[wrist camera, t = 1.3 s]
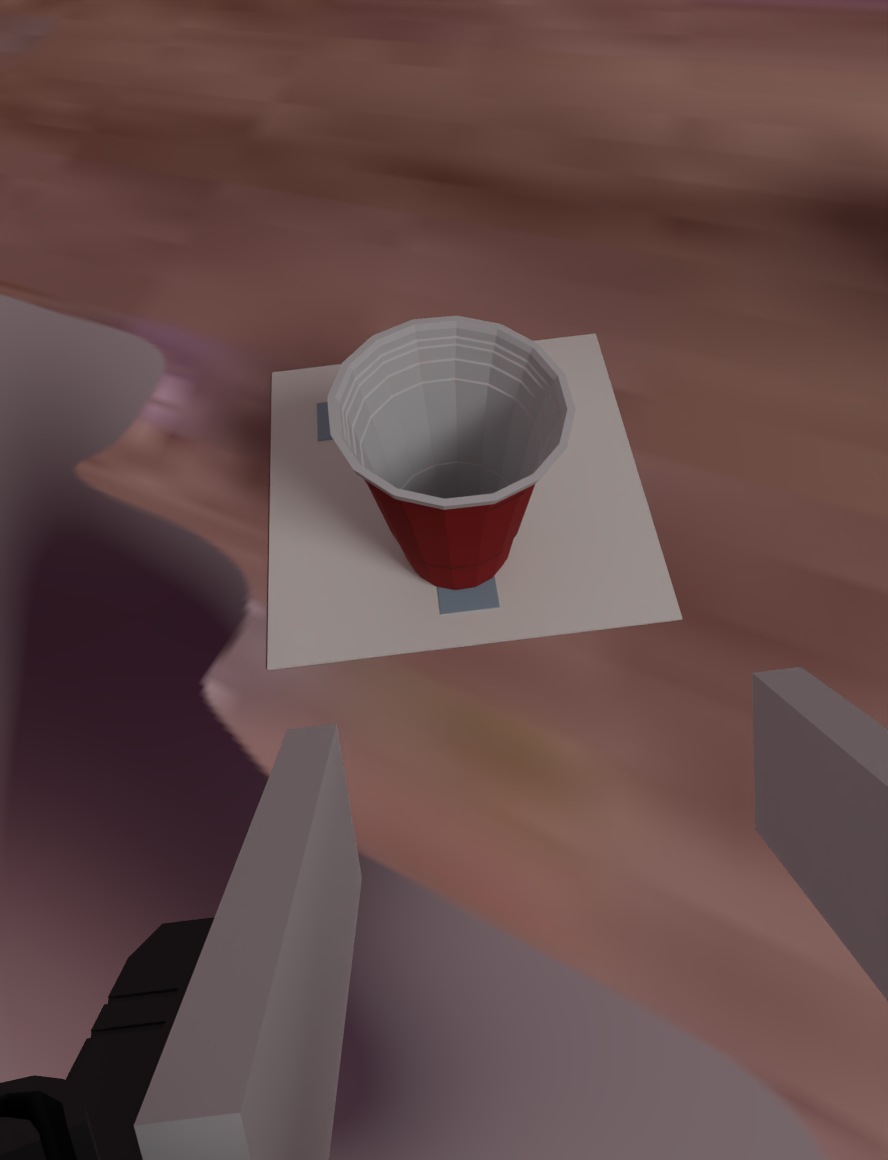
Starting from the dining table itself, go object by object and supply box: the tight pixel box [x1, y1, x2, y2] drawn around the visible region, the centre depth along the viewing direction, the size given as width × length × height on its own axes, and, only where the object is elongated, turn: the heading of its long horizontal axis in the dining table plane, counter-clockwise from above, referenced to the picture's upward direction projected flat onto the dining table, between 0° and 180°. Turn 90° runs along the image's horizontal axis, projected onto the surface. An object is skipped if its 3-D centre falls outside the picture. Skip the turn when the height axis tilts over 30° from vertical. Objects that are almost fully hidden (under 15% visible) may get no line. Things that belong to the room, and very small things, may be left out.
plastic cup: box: [327, 316, 575, 590], centre depth 38 cm, size 11×11×12 cm
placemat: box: [267, 333, 682, 670], centre depth 46 cm, size 22×22×1 cm
